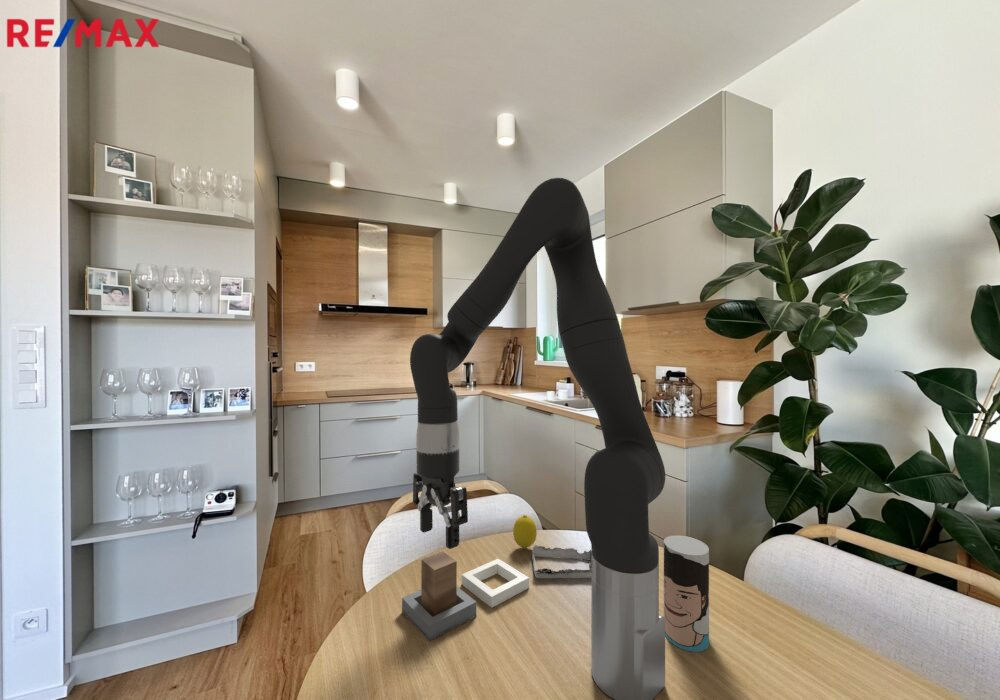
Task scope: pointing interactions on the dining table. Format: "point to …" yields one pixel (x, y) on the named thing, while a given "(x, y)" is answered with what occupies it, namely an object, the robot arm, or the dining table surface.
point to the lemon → (524, 531)
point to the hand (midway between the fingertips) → (438, 538)
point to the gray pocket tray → (442, 621)
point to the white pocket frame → (502, 593)
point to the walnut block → (438, 583)
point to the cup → (686, 592)
